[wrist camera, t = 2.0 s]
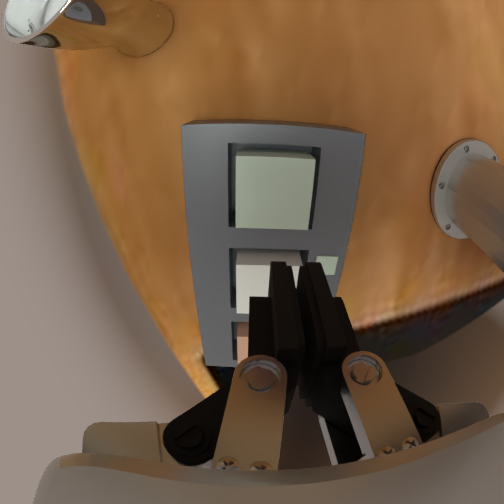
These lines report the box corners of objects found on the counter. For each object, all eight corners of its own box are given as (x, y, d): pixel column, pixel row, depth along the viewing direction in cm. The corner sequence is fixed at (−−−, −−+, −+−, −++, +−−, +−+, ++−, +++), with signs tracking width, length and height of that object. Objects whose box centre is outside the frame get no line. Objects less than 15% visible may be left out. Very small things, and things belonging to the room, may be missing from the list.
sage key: (308, 151, 21) (315, 159, 18) (302, 214, 24) (307, 229, 21) (238, 148, 21) (235, 155, 18) (237, 212, 24) (235, 227, 21)
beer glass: (140, 74, 20) (27, 68, 7) (98, 39, 17) (-15, 25, 4) (194, 21, 17) (125, -51, 4) (147, -12, 15) (60, -72, 2)
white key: (298, 248, 26) (302, 266, 23) (292, 294, 29) (295, 314, 26) (237, 246, 26) (235, 264, 23) (238, 293, 28) (236, 313, 26)
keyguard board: (347, 127, 22) (366, 134, 18) (309, 341, 37) (314, 367, 33) (193, 120, 22) (180, 125, 18) (209, 339, 37) (205, 366, 33)
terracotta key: (288, 317, 30) (291, 337, 28) (283, 348, 33) (285, 367, 31) (238, 316, 30) (237, 336, 28) (238, 347, 33) (237, 366, 31)
